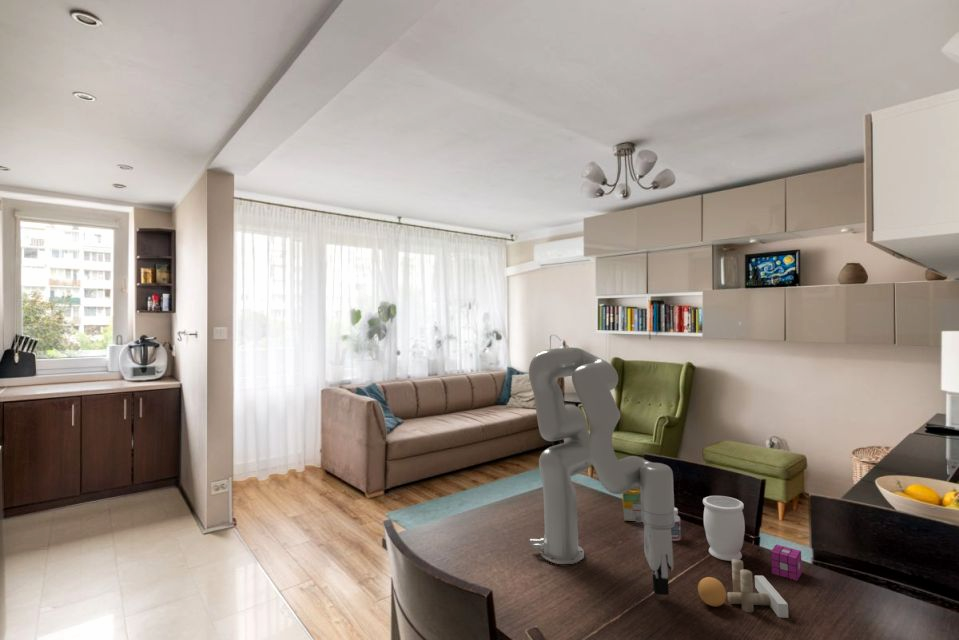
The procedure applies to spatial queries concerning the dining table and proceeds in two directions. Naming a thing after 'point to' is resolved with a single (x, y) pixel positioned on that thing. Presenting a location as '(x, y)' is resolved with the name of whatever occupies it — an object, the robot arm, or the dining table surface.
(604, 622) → the dining table surface
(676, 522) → the pill bottle
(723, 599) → the ball
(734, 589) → the pin
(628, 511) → the crayon box
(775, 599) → the back rail
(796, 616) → the dining table surface
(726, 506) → the jar
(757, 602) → the pin front
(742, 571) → the pin
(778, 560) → the puzzle toy
